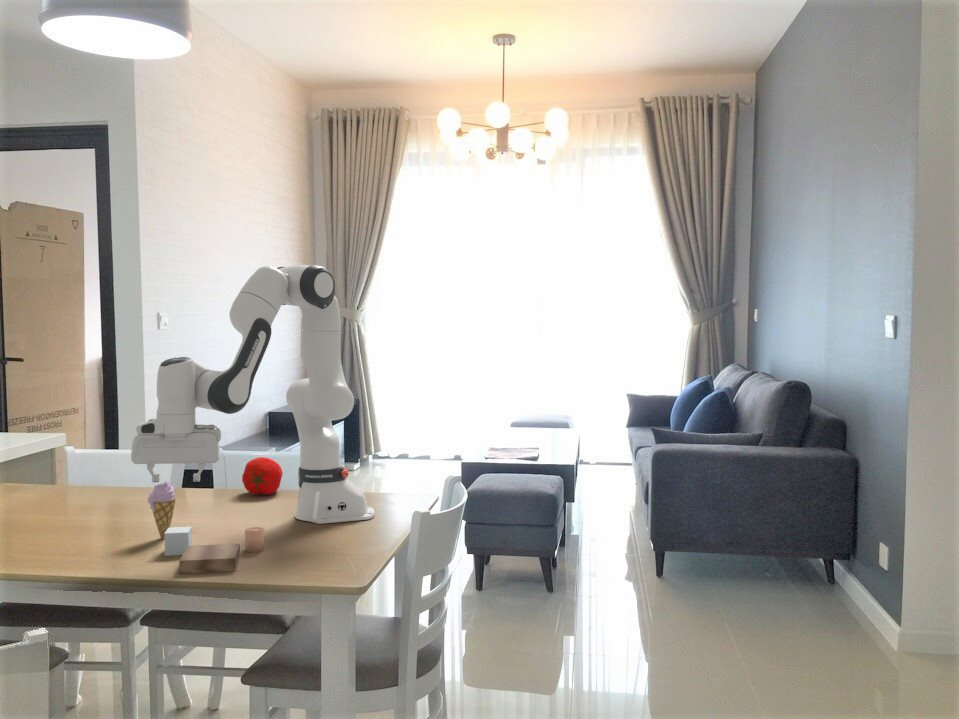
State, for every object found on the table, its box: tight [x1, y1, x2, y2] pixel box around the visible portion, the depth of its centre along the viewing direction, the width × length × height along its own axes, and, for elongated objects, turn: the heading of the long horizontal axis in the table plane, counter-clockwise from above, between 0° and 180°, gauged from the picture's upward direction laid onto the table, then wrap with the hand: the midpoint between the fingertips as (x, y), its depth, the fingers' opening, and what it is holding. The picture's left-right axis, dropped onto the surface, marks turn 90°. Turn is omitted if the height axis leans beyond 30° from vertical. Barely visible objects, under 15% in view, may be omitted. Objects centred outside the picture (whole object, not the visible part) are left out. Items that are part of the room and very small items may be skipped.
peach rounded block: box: [244, 526, 265, 553], centre depth 211 cm, size 5×5×5 cm
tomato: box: [241, 456, 283, 496], centre depth 272 cm, size 13×13×13 cm
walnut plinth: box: [179, 543, 241, 575], centre depth 199 cm, size 12×12×3 cm
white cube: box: [164, 526, 193, 557], centre depth 209 cm, size 6×6×6 cm
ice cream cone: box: [147, 480, 177, 540], centre depth 220 cm, size 7×6×15 cm
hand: (176, 481), depth 208 cm, fingers open, 8 cm apart
